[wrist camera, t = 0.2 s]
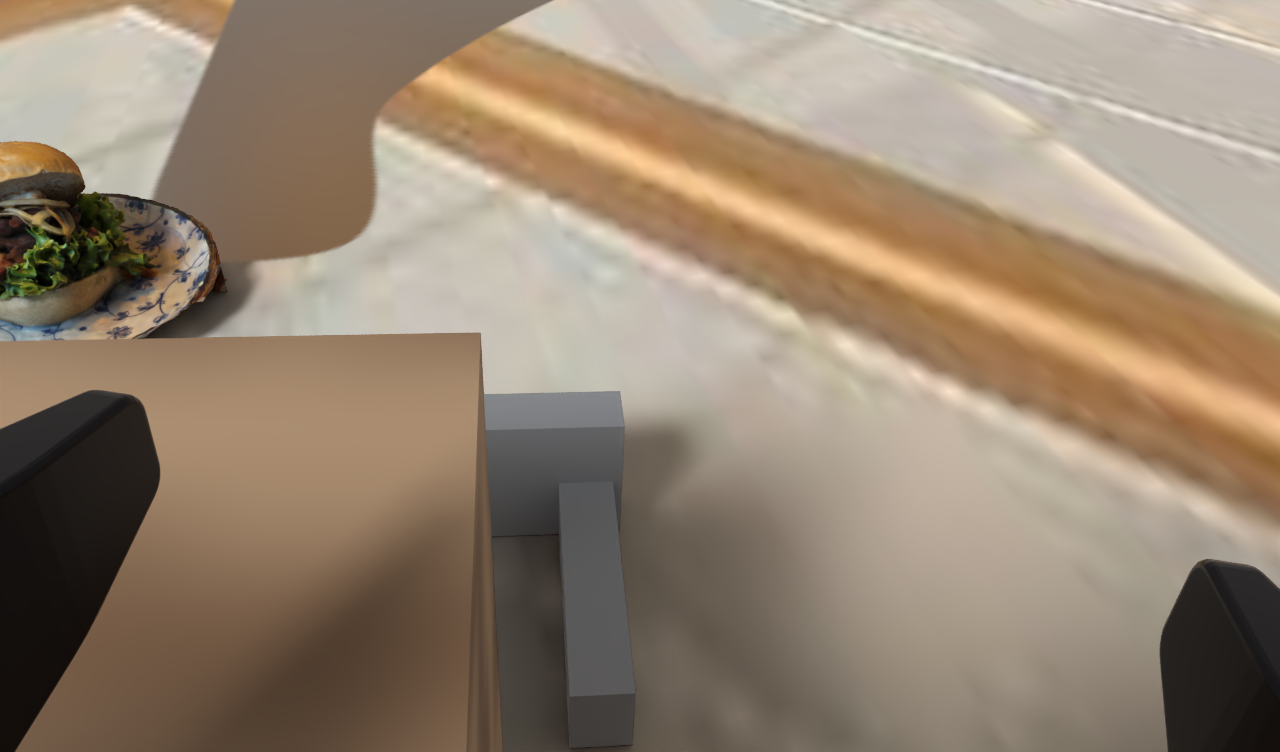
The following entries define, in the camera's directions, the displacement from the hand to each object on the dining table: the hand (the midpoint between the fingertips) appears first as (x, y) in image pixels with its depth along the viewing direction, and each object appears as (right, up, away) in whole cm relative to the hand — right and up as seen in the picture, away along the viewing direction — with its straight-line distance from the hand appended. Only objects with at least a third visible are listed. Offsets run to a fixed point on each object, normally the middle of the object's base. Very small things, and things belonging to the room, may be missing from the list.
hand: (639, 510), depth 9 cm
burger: (-21, +3, +30) cm, 37 cm away
